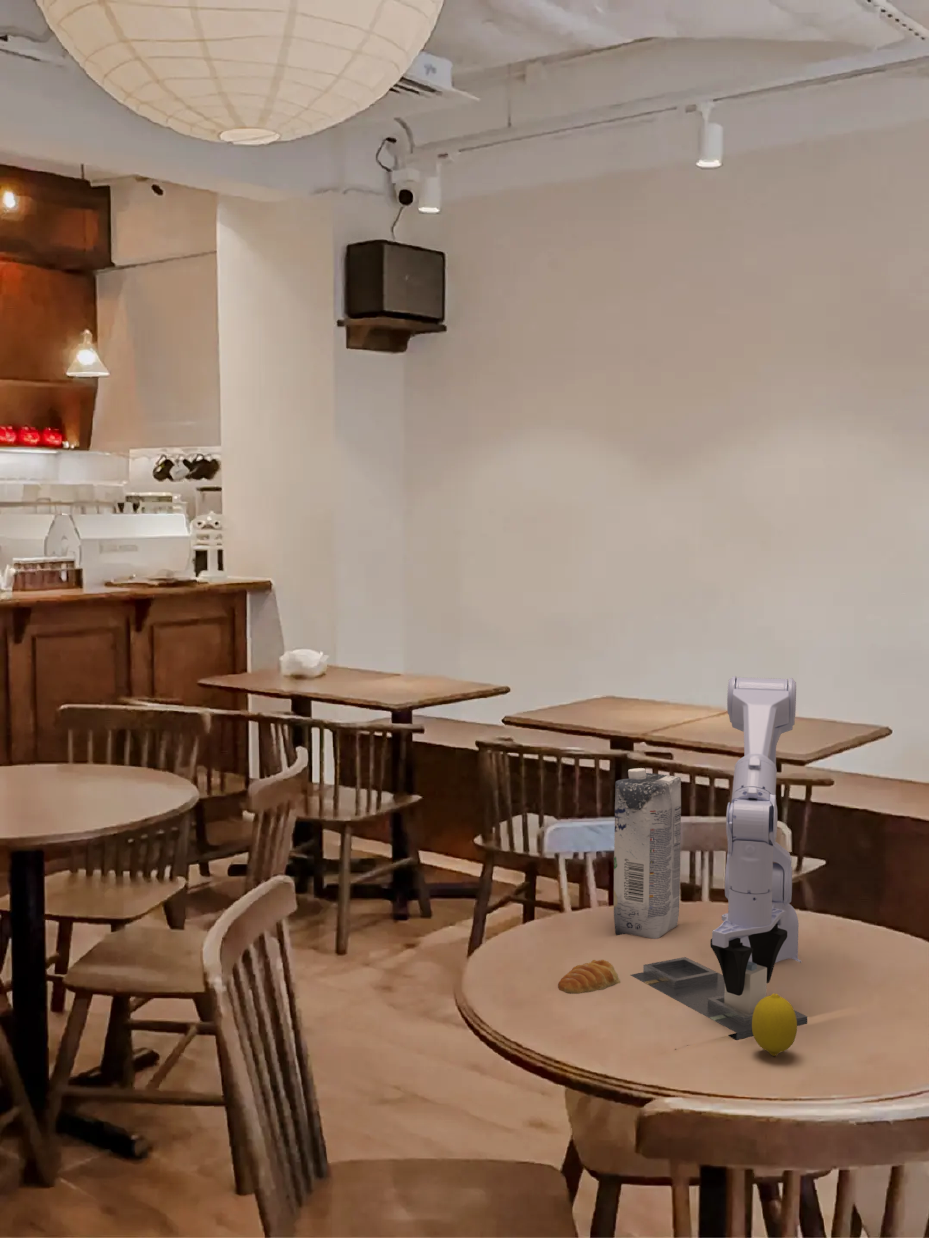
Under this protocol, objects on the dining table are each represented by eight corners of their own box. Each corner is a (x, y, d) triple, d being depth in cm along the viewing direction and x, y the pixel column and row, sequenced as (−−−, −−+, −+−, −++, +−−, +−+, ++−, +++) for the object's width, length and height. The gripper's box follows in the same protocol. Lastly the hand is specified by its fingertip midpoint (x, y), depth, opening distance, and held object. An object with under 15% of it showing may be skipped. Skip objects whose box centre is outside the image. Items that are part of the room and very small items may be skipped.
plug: (740, 1002, 178) (741, 955, 178) (766, 1010, 176) (767, 962, 175) (724, 1010, 176) (725, 962, 175) (749, 1018, 173) (750, 969, 172)
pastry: (581, 1006, 180) (581, 979, 180) (545, 994, 185) (545, 967, 185) (623, 989, 187) (624, 963, 186) (588, 978, 192) (588, 952, 191)
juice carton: (684, 929, 213) (686, 767, 211) (658, 947, 205) (660, 778, 202) (634, 920, 218) (636, 762, 216) (607, 937, 209) (609, 772, 207)
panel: (696, 968, 195) (696, 954, 195) (807, 1023, 174) (807, 1007, 174) (630, 981, 189) (630, 966, 189) (736, 1039, 168) (736, 1023, 168)
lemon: (745, 1047, 166) (746, 986, 165) (787, 1046, 166) (789, 985, 166) (759, 1065, 160) (760, 1002, 160) (802, 1063, 161) (804, 1001, 160)
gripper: (754, 872, 182) (752, 966, 183) (693, 892, 172) (691, 992, 173) (799, 882, 177) (797, 979, 178) (738, 903, 167) (736, 1006, 168)
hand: (748, 986), depth 175 cm, fingers open, 6 cm apart
